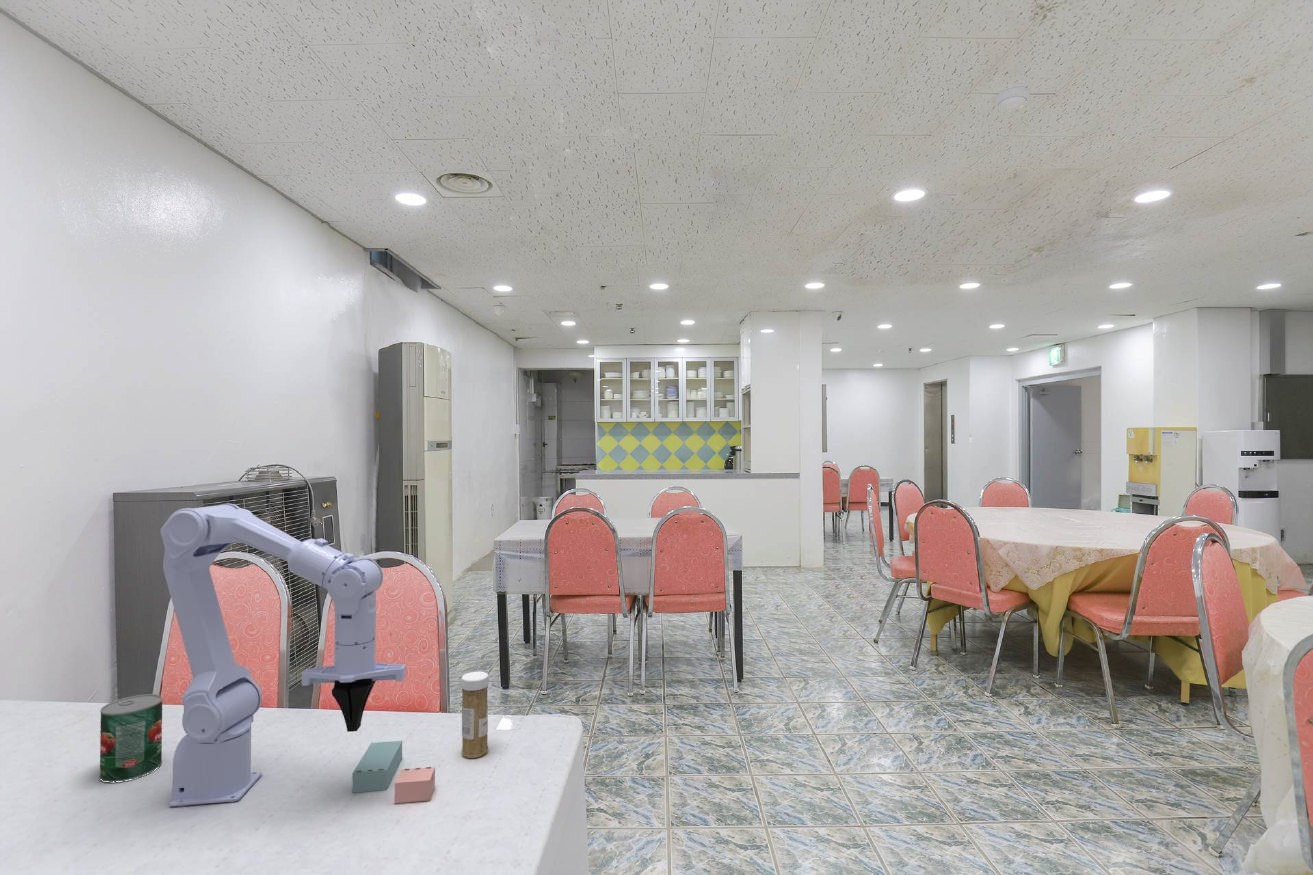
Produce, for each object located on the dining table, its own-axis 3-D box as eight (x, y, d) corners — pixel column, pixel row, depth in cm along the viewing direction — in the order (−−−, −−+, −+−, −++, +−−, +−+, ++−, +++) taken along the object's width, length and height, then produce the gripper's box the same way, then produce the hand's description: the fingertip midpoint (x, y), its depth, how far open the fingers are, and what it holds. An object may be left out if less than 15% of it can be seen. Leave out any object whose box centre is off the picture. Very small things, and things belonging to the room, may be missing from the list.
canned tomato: (172, 764, 104) (173, 698, 105) (115, 787, 97) (116, 716, 98) (145, 754, 108) (146, 690, 108) (88, 776, 101) (89, 708, 101)
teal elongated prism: (352, 792, 96) (352, 772, 96) (371, 760, 106) (371, 742, 106) (386, 789, 97) (386, 769, 97) (402, 758, 107) (402, 739, 107)
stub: (394, 803, 93) (394, 782, 93) (401, 788, 97) (401, 768, 97) (429, 800, 94) (429, 779, 94) (434, 786, 98) (434, 766, 98)
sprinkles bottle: (491, 754, 108) (492, 676, 108) (465, 761, 105) (465, 681, 106) (483, 744, 112) (483, 668, 112) (457, 750, 109) (458, 673, 109)
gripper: (293, 650, 91) (292, 743, 91) (397, 645, 93) (396, 737, 93) (312, 635, 98) (311, 722, 98) (409, 632, 100) (408, 717, 100)
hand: (353, 728), depth 96 cm, fingers closed
